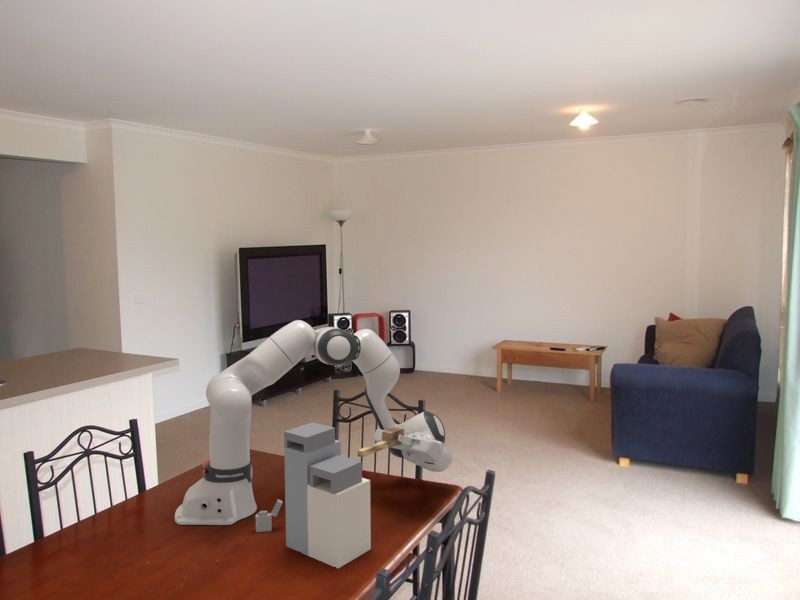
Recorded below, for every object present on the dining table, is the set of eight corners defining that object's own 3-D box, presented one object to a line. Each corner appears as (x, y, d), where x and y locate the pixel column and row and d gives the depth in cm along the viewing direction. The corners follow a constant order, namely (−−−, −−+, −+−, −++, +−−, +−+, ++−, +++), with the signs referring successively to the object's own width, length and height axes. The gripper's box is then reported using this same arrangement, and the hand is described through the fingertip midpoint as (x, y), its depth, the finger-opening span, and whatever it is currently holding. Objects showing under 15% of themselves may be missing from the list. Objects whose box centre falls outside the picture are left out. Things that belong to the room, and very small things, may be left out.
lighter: (256, 532, 170) (255, 503, 170) (255, 529, 172) (255, 501, 171) (283, 529, 172) (282, 500, 171) (282, 526, 174) (282, 498, 173)
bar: (395, 440, 181) (395, 426, 181) (403, 442, 179) (404, 428, 179) (355, 455, 168) (355, 440, 168) (364, 457, 166) (364, 442, 166)
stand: (319, 529, 172) (318, 420, 169) (370, 549, 161) (369, 433, 158) (286, 546, 163) (283, 431, 160) (337, 568, 152) (336, 445, 149)
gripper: (392, 431, 195) (366, 418, 184) (448, 444, 182) (424, 431, 172) (386, 451, 193) (359, 439, 183) (442, 466, 180) (417, 454, 170)
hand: (391, 435), depth 177 cm, fingers closed on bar, 3 cm apart
